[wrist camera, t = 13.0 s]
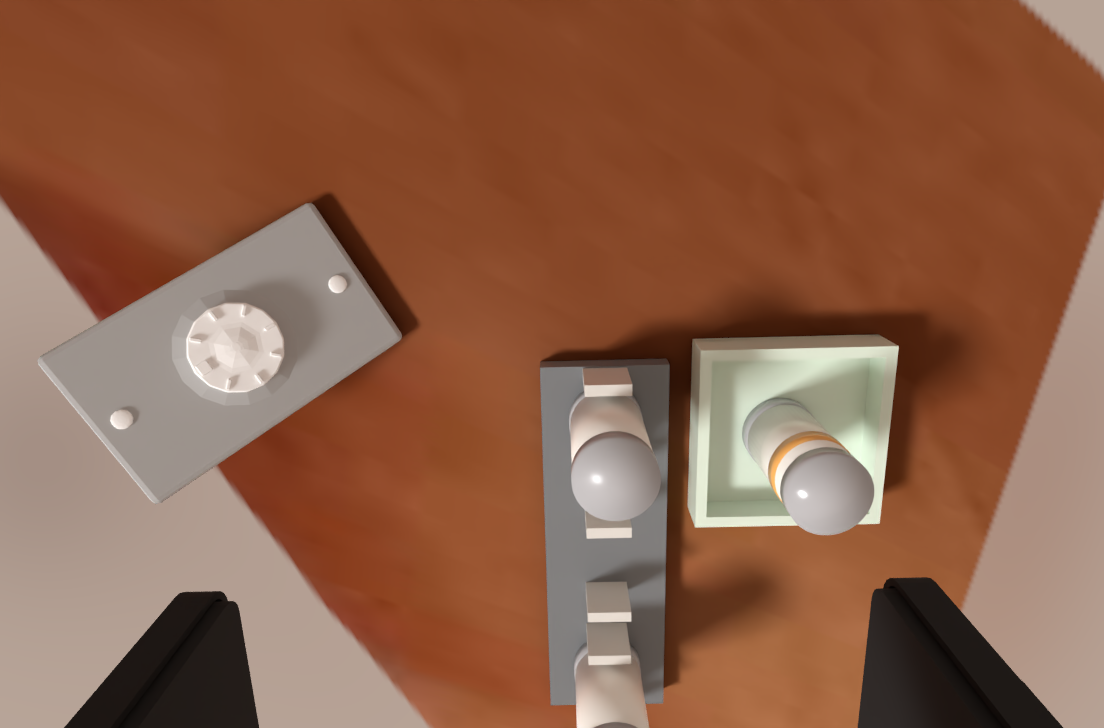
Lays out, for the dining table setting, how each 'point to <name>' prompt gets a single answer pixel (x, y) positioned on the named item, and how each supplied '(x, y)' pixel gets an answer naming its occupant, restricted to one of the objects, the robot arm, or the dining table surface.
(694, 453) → the tray
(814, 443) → the cylinder
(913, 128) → the dining table surface
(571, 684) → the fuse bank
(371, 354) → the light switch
